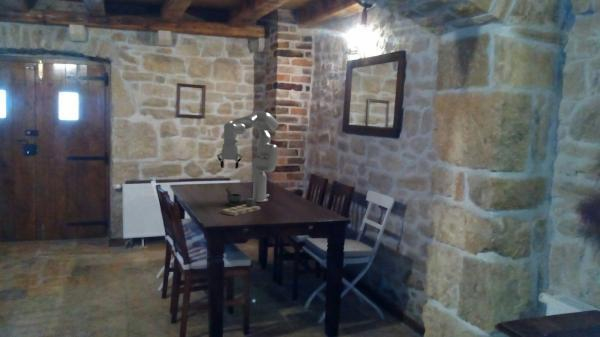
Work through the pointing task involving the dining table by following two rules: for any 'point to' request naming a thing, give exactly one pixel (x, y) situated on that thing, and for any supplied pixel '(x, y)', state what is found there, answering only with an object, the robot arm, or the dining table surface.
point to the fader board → (240, 210)
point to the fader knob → (250, 202)
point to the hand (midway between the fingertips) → (229, 168)
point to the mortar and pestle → (233, 197)
